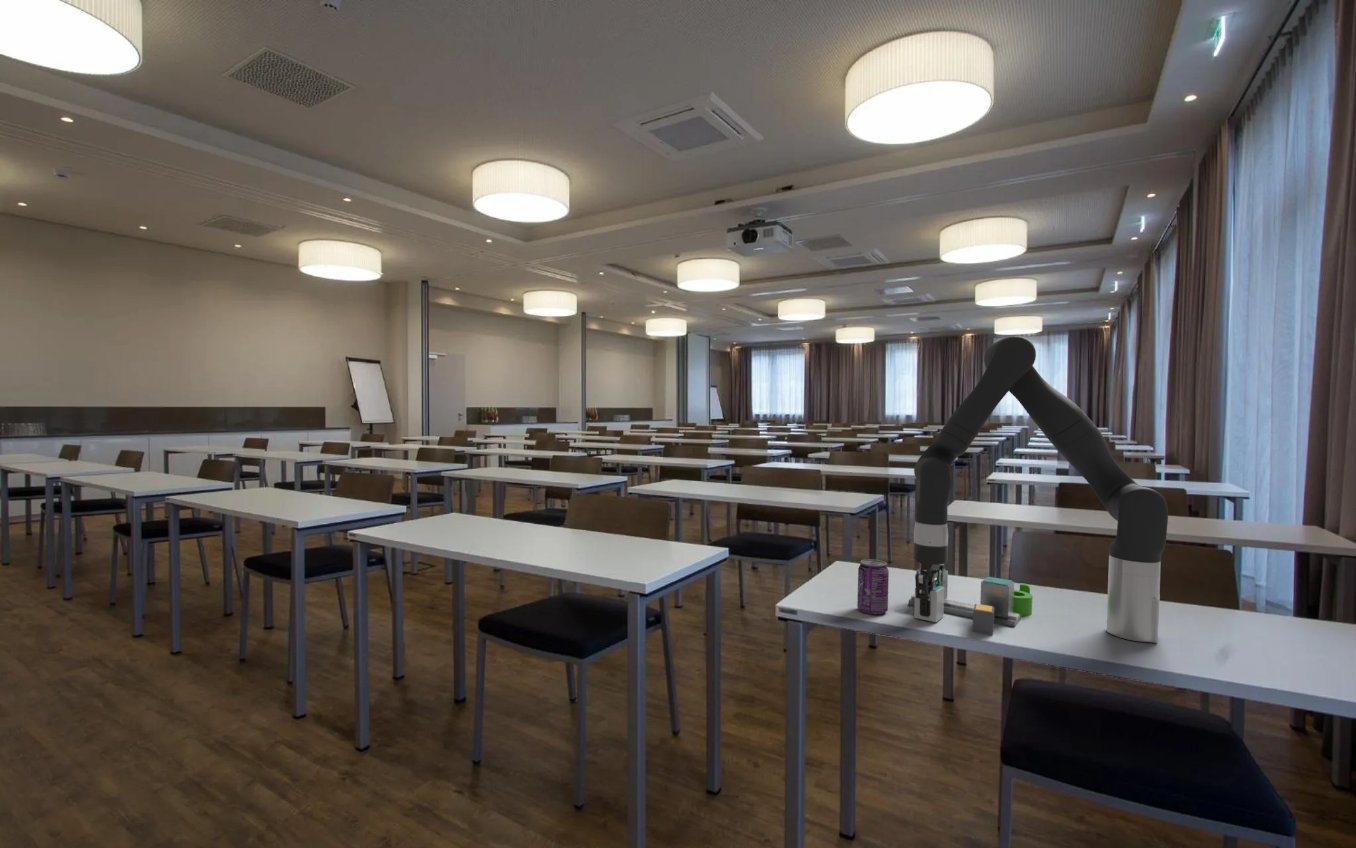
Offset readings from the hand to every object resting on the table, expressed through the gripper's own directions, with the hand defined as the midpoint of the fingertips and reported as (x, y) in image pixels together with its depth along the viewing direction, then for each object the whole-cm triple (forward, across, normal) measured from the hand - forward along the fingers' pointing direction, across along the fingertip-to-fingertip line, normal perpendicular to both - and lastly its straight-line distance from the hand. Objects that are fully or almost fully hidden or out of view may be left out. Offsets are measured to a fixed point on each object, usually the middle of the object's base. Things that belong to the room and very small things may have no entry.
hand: (929, 612), depth 147 cm
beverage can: (+2, -4, +12) cm, 13 cm away
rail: (+1, +10, -5) cm, 12 cm away
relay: (+2, 0, -12) cm, 12 cm away
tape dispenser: (+2, +24, -14) cm, 28 cm away
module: (+1, 0, 0) cm, 1 cm away
